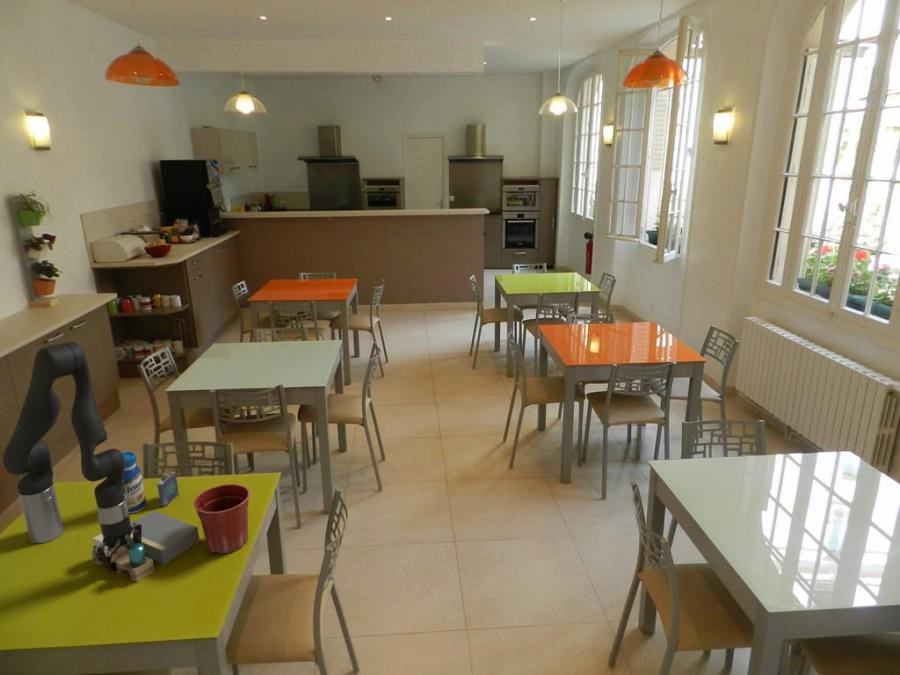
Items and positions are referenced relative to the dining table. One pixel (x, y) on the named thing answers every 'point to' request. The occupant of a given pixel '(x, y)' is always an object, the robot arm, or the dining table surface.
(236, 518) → the flower pot
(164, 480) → the flask
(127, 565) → the pallet
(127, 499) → the beverage bottle
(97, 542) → the white cube
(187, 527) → the dock
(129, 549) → the teal canister
